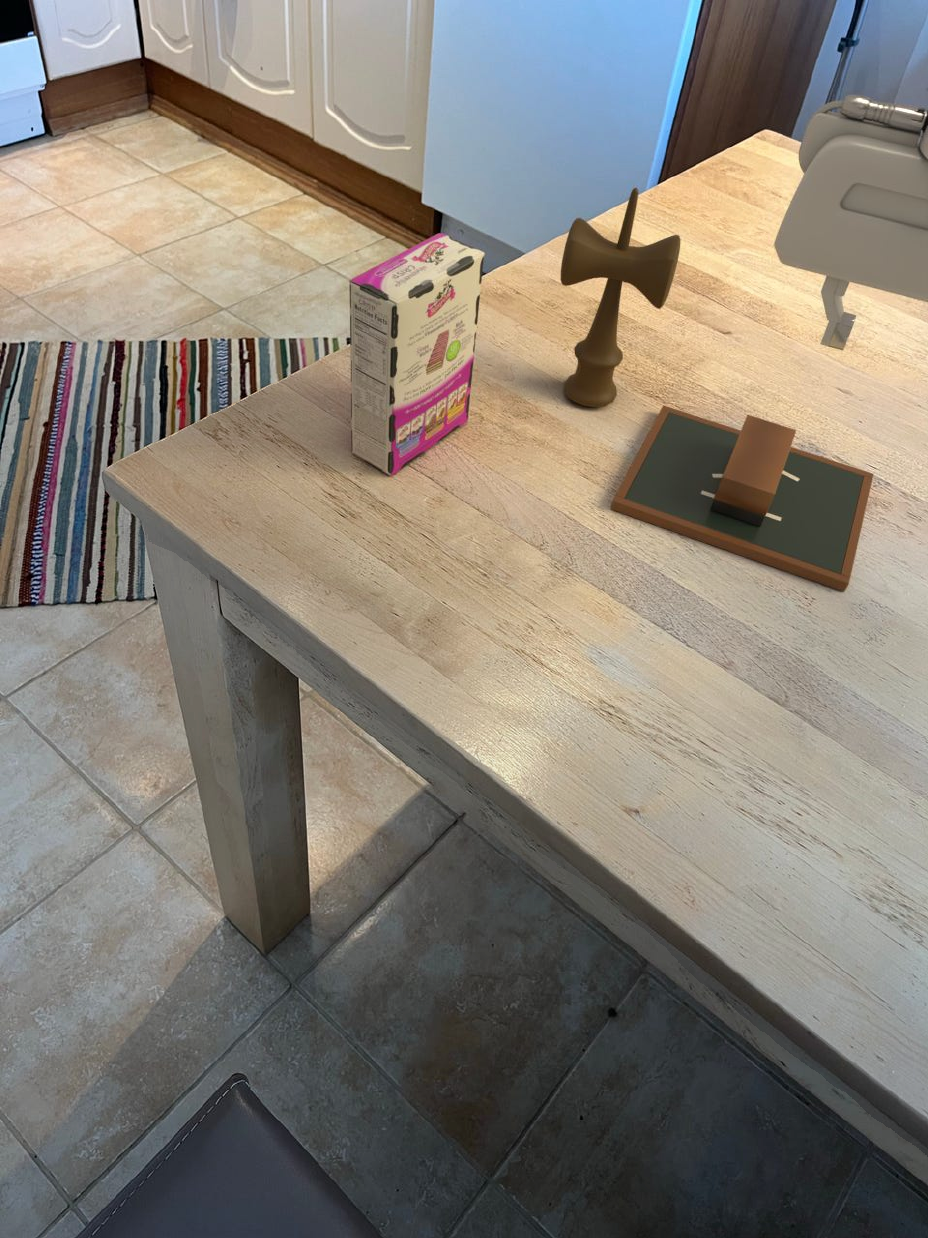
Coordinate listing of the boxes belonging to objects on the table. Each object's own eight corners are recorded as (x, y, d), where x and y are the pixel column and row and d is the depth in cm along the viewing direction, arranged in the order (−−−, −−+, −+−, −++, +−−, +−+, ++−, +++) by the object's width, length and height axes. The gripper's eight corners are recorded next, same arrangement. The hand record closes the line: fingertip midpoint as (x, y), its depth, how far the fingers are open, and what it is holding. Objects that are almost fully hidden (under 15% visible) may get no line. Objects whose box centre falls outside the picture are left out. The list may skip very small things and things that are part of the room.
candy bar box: (426, 400, 88) (439, 229, 76) (469, 423, 87) (489, 251, 75) (345, 453, 82) (346, 275, 70) (389, 479, 80) (398, 301, 68)
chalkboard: (869, 482, 87) (874, 472, 86) (844, 592, 76) (849, 583, 75) (660, 413, 91) (663, 404, 90) (610, 509, 80) (612, 499, 80)
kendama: (634, 424, 89) (691, 214, 74) (534, 401, 90) (571, 190, 75) (641, 390, 93) (697, 185, 78) (546, 369, 94) (584, 162, 79)
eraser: (782, 462, 86) (796, 429, 83) (760, 527, 79) (775, 494, 76) (735, 446, 86) (747, 414, 84) (709, 509, 80) (722, 476, 77)
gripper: (808, 102, 50) (734, 341, 59) (1239, 197, 45) (1079, 439, 55) (828, 71, 54) (755, 298, 64) (1224, 154, 49) (1078, 386, 59)
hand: (908, 364), depth 59 cm, fingers open, 8 cm apart
